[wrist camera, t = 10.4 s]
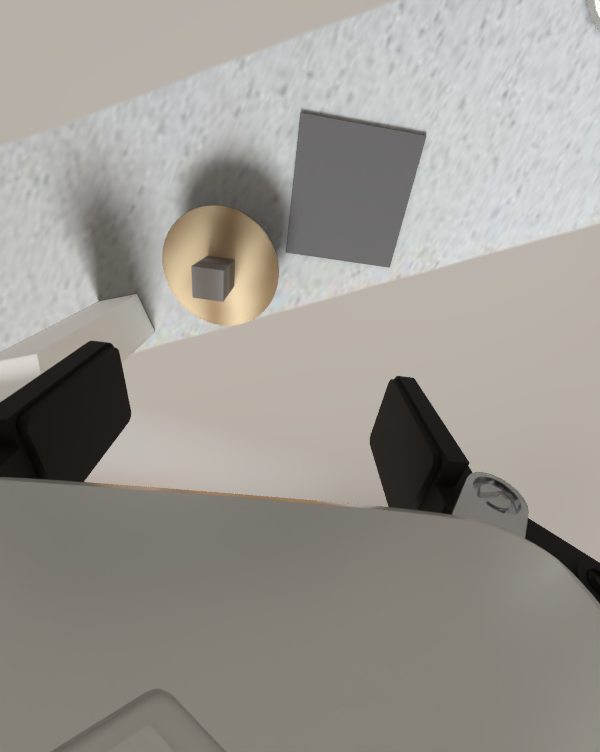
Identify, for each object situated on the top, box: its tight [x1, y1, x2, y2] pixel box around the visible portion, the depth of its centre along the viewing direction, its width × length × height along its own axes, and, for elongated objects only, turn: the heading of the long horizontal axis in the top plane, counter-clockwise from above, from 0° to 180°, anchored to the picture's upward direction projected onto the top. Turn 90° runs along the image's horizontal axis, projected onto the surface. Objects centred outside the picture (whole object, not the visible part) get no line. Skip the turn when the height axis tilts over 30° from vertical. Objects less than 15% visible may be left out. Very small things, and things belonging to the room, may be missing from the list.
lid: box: [162, 205, 279, 325], centre depth 31 cm, size 13×13×7 cm
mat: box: [286, 113, 426, 267], centre depth 36 cm, size 14×14×1 cm
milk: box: [0, 294, 155, 402], centre depth 34 cm, size 6×6×22 cm
